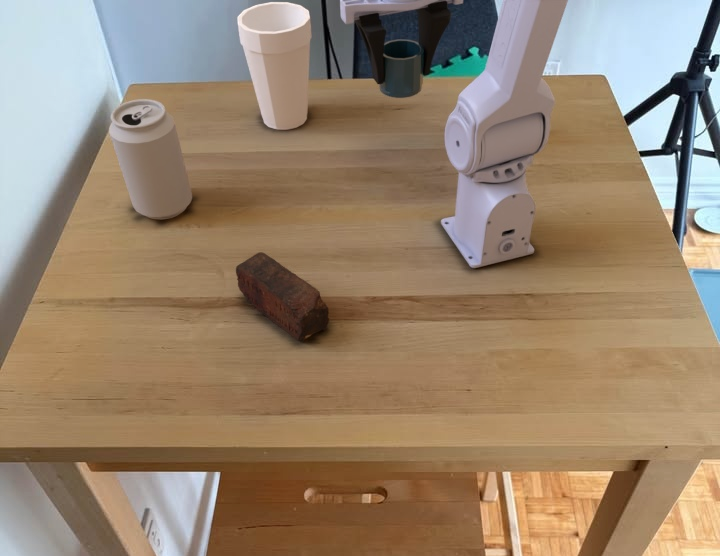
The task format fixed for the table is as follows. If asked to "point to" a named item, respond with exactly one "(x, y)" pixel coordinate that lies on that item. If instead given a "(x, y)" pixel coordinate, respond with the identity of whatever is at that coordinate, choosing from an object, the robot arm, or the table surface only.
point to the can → (150, 158)
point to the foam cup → (278, 60)
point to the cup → (402, 68)
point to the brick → (282, 296)
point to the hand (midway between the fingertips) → (401, 75)
